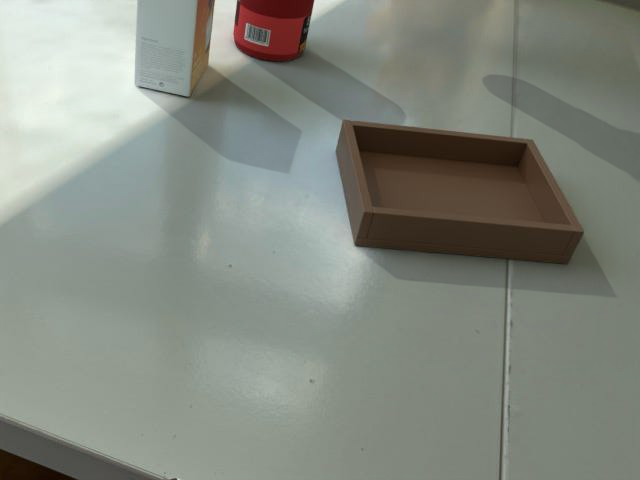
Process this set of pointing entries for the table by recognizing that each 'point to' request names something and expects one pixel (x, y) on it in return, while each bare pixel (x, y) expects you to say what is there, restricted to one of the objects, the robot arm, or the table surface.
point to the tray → (453, 193)
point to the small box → (172, 43)
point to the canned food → (272, 28)
